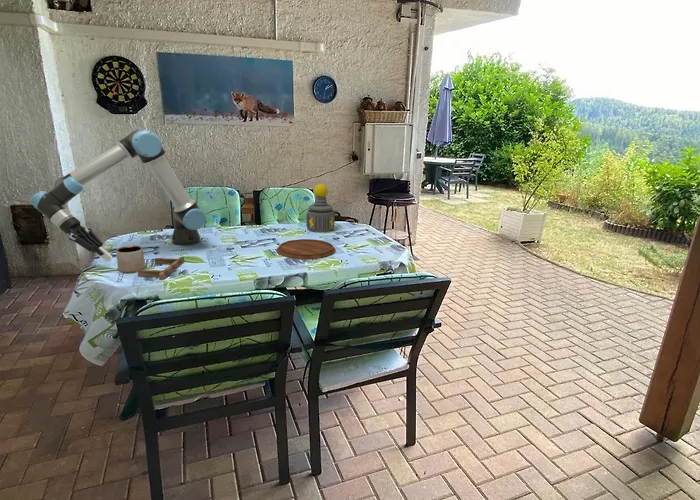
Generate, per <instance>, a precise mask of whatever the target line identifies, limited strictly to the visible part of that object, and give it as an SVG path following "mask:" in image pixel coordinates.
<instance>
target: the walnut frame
mask: <svg viewBox="0 0 700 500" xmlns="http://www.w3.org/2000/svg"><path fill="white" fill-rule="evenodd" d="M184 262H185V257H184V256H180V257H179V258H166V257H165V258H164V257H161V258H160V257H156V258H154V265H167V267H165V269H162V270H157V269H156V270H154V269H151V270H150V269H142V270H138V271H137V272H136V273H137V277H138V278H139V277H141V278H142V277H143V278H145V277H148V278H149V277H150V278H158V280H161V281H162V280H164V279H165V278H167V277H168V276H169V275H170V274H171V273H173V272H174V271H175V270H176V269H177V268H179V267H180V266H181V265H183V263H184Z"/></svg>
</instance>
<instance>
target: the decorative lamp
mask: <svg viewBox="0 0 700 500" xmlns="http://www.w3.org/2000/svg"><path fill="white" fill-rule="evenodd" d="M328 193H329V188H328V187H327V186H326V184H324V183H319V184H317V185H315V186H314V189H313V194H314V196H315V199H314V202H313V204H310V205H309V206H308V209H307V212H306V220H305V221H306V228H307V230H308V231H310V232H311V233H312V232H313V233H329V232H332V231H333V230H334V228H335V215H336V214H335V210H333V209H334V207H333V206H332V205H330V204H328V202H327V201H328V200H327V197H326V196H328Z"/></svg>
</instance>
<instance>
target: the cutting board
mask: <svg viewBox="0 0 700 500" xmlns="http://www.w3.org/2000/svg"><path fill="white" fill-rule="evenodd" d="M276 252H277V254H278V255H280V256H282V257H285V258H288V259H293V260H318V259H325V258H328V257H331V256H333V255H335V254H336V248H335V247H334V245H333V244H332V243H330V242H328V241H325V240H319V239H308V238H307V239H306V238H305V239H303V238H302V239H301V238H300V239H299V238H298V239H291V240H287V241H284V242H282V243H280V244H279V245H278V246H277V248H276Z"/></svg>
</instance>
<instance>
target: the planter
mask: <svg viewBox="0 0 700 500" xmlns="http://www.w3.org/2000/svg"><path fill="white" fill-rule="evenodd" d="M115 254H116V255H115V256H116V263H117V269H118V271H119V272H122V273H124V274H125V273H126V274H127V273H129V274H131V273H137V271H138V270H145V268H146V263H145V262H146V261H145V256H144V255H145V254H144V248H143V246H140V245H128V246H121V247H118V248H117V249H115Z"/></svg>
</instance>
